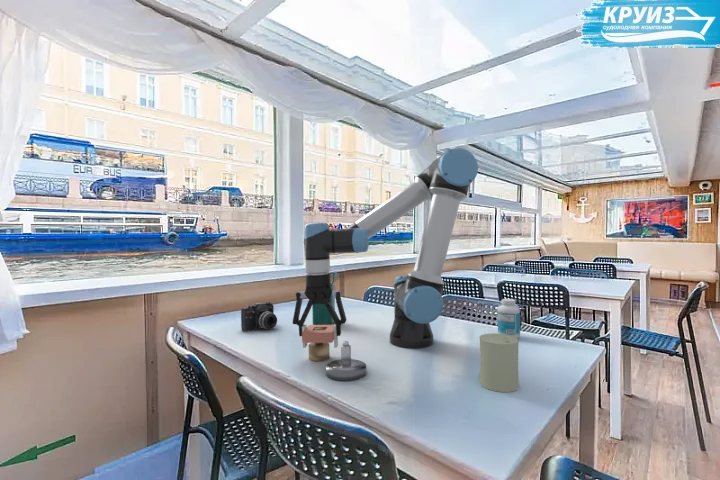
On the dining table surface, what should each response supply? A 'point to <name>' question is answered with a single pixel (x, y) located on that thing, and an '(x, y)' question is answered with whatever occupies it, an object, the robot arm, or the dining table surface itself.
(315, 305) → the green bottle
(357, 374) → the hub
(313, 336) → the terracotta clay block
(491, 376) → the can
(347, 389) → the dining table surface
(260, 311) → the camera
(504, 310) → the pill bottle
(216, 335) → the dining table surface
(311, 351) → the stand
